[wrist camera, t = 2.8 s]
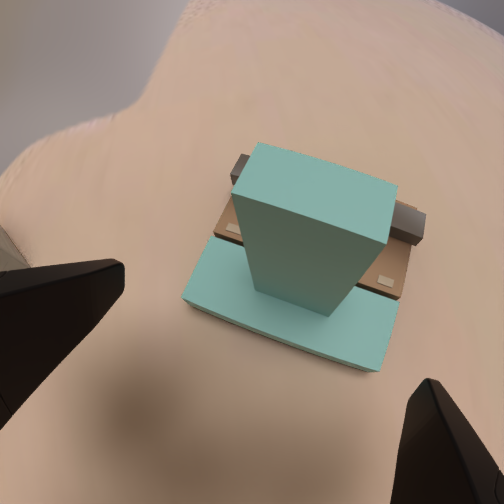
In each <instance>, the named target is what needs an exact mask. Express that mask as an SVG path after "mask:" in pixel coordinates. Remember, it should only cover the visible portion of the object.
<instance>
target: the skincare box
mask: <svg viewBox="0 0 504 504" xmlns="http://www.w3.org/2000/svg"><path fill="white" fill-rule="evenodd" d="M25 268H30V266H29V265H28V264H27V262H26V261H25V259H24V258H23V257H22V255H21V254H20V252H19V251H18V250H17V248H16V247H15V245H14V244H13V242H12V241H11V240H10V238H9V237H8V235H7V234H6V232H5V231H4V229H3V228H2V227H1V226H0V271H9V270H17V269H25Z"/></svg>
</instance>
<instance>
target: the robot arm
mask: <svg viewBox="0 0 504 504" xmlns="http://www.w3.org/2000/svg"><path fill="white" fill-rule="evenodd" d="M124 287H125V267H124V264H123V263H122V262H120V261H117V260H115V259H102V260H93V261H85V262H76V263H67V264H59V265H50V266H42V267H33V268H25V269H17V270H9V271H0V430H1V429H2V428H3V427H4V425H5V424H6V423H7V422H8V421H9V420H10V418H11V417H12V415H14V413H15V412H16V411H17V410H18V409H19V408H20V407H21V405H22V404H23V403H24V402H25V401H26V400H27V399H28V398H29V396H30V395H31V394H32V393H33V392H34V391H35V390H36V389H37V388H38V387H39V385H40V384H41V383H42V382H43V381H44V380H45V379H46V378H47V377H48V376H49V375H50V373H51V372H52V371H53V370H54V369H55V368H56V367H57V366H58V365H59V364H60V363H61V362H62V361H63V360H64V359H65V358H66V356H67V355H68V354H69V353H70V352H71V351H72V350H73V349H74V348H75V347H76V346H77V345H78V344H79V343H80V342H81V341H82V340H83V339H84V338H85V337H86V336H87V335H88V334H89V333H90V332H91V331H92V330H93V329H94V327H95V326H96V325H97V324H98V323H99V322H100V320H101V319H102V318H103V317H104V315H105V314H106V313H107V312H108V310H109V309H110V308H111V307H112V306H113V304H114V303H115V302H116V301H117V299H118V298H119V297H120V296H121V295H122V293H123V291H124ZM390 504H504V475H503V473H502V472H501V470H499V467H498V466H497V464H496V462H495V461H494V459H493V458H492V456H491V455H490V453H489V452H488V450H487V449H486V447H485V445H484V444H483V442H482V441H481V439H480V438H479V437H478V435H477V434H476V432H475V431H474V429H473V428H472V426H471V425H470V423H469V422H468V420H467V419H466V418H465V416H464V415H463V413H462V412H461V411H460V409H459V408H458V406H457V405H456V404H455V402H454V401H453V399H452V398H451V397H450V395H449V394H448V393H447V391H446V390H445V388H444V387H443V386H442V384H441V383H440V382H439V381H438V380H434V379H430V378H426V379H424V380H423V381H422V382H421V384H420V385H419V386H418V388H417V389H416V390H415V392H414V393H413V394H412V395H411V397H410V398H409V400H408V403H407V407H406V413H405V419H404V424H403V429H402V434H401V439H400V444H399V449H398V455H397V463H396V470H395V477H394V484H393V490H392V496H391V501H390Z"/></svg>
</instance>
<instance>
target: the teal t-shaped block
mask: <svg viewBox="0 0 504 504" xmlns="http://www.w3.org/2000/svg"><path fill="white" fill-rule="evenodd" d="M397 188H398V186H397V185H394V184H392V183H389V182H386V181H384V180H381V179H378V178H375V177H373V176H370V175H367V174H364V173H361V172H358V171H355V170H352V169H349V168H346V167H343V166H340V165H337V164H334V163H331V162H327V161H324V160H321V159H318V158H314V157H311V156H307V155H304V154H301V153H297V152H293V151H290V150H286V149H282V148H279V147H275V146H271V145H267V144H263V143H259V142H258V143H257V145H256V147H255V149H254V150H253V152H252V154H251V156H250V158H249V159H248V161H247V163H246V165H245V167H244V169H243V171H242V172H241V174H240V176H239V178H238V180H237V182H236V184H235V185H234V187H233V189H232V191H231V195H232V199H233V204H234V208H235V212H236V216H237V220H238V224H239V228H240V232H241V236H242V240H243V244H244V247H242V246H239V245H236V244H234V243H231V242H228V241H225V240H222V239H219V238H216V237H214V236H211V237H210V239H209V241H208V243H207V245H206V247H205V249H204V251H203V253H202V255H201V257H200V259H199V261H198V263H197V265H196V267H195V269H194V271H193V273H192V275H191V278H190V280H189V282H188V284H187V286H186V288H185V290H184V292H183V294H182V296H181V298H182V299H183V300H184V301H186V302H187V303H188V304H189V305H190V306H193V307H195V308H197V309H200V310H202V311H204V312H207V313H209V314H211V315H214V316H216V317H218V318H221V319H223V320H226V321H228V322H231V323H233V324H235V325H238V326H240V327H243V328H245V329H248V330H250V331H253V332H256V333H258V334H261V335H263V336H266V337H268V338H271V339H274V340H276V341H279V342H282V343H284V344H287V345H290V346H293V347H295V348H298V349H301V350H304V351H306V352H309V353H312V354H315V355H318V356H321V357H324V358H327V359H329V360H332V361H335V362H338V363H341V364H344V365H348V366H351V367H354V368H357V369H360V370H363V371H366V372H379V371H380V368H381V365H382V362H383V359H384V356H385V353H386V350H387V346H388V343H389V340H390V336H391V333H392V329H393V325H394V322H395V318H396V314H397V310H398V306H399V302H398V301H395V300H392V299H390V298H387V297H384V296H381V295H378V294H375V293H373V292H370V291H367V290H364V289H361V288H358V287H356V286H355V285H356V284H357V282H358V281H359V280H360V279H361V277H362V276H363V275H364V273H365V272H366V271H367V270H368V268H369V267H370V266H371V264H372V263H373V262H374V261H375V259H376V258H377V257H378V255H379V254H380V253H381V251H382V250H383V249H384V247H385V246H386V244H387V240H388V236H389V231H390V226H391V221H392V216H393V211H394V205H395V200H396V194H397Z"/></svg>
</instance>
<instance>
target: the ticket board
mask: <svg viewBox="0 0 504 504" xmlns="http://www.w3.org/2000/svg"><path fill="white" fill-rule="evenodd" d="M249 158H250V156H249V155H245V154H241V156H240V157H239V159H238V161H237V163H236V164H235V166H234V168H233V170H232V172H231V173H230V175H231V180H232V184H233V185H235V184H236V182H237V180H238V178H239V176H240V174H241V172H242V171H243V169H244V167H245V165H246V163H247V161H248V159H249ZM425 219H426V214H425V213H422V212H420V211H417V208H415V207H413V206H410V205H408V204H405V203H403V202H400V201H398V200H395V205H394V211H393V216H392V221H391V226H390V231H389V236H388V240H387V244H386V246H385V247H384V249H383V250H382V251H381V253H380V254H379V255H378V257H377V258H376V259H375V261H374V262H373V263H372V264H371V266H370V267H369V268H368V270H367V271H366V272H365V273H364V275H363V276H362V277H361V279H360V280H359V281H358V282H357V284H356V285H355V286H356V287H358V288H361V289H364V290H367V291H370V292H373V293H375V294H378V295H381V296H384V297H387V298H390V299H392V300H395V301H396V300H398V299H399V298H400V297H401V294H402V290H403V285H404V281H405V276H406V271H407V266H408V261H409V256H410V251H411V245H414V246H416V245H417V244H418V243H419V242H420V241H421V240H422V239H423V234H424V227H425ZM213 232H214V235H215V237H216V238H219V239H222V240H225V241H228V242H231V243H234V244H236V245H239V246H242V247H244V244H243V240H242V236H241V232H240V228H239V224H238V220H237V216H236V212H235V208H234V204H233V199H232V196H231V198H230V200H229V202H228V204H227V205H226V207H225V209H224V211H223V213H222V215H221V217H220V219H219V221H218V223H217V225H216V227H215V229H214V231H213Z"/></svg>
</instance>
